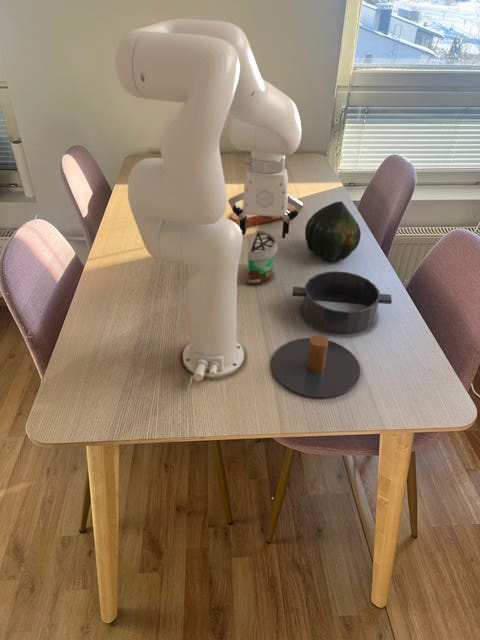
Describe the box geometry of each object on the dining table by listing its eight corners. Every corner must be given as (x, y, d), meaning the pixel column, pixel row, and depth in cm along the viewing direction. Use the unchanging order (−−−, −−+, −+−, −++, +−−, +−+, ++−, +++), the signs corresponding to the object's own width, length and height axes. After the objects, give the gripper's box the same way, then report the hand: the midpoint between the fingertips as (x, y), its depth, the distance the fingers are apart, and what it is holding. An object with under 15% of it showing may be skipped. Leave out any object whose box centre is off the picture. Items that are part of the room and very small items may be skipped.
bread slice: (225, 227, 154) (225, 215, 152) (239, 202, 168) (239, 191, 166) (284, 234, 151) (285, 222, 148) (294, 208, 165) (295, 197, 162)
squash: (307, 252, 131) (348, 207, 127) (287, 228, 143) (324, 186, 139) (342, 279, 139) (381, 237, 134) (320, 254, 150) (356, 214, 146)
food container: (271, 290, 127) (273, 255, 121) (247, 288, 128) (248, 252, 122) (278, 265, 136) (280, 231, 130) (255, 263, 137) (257, 229, 131)
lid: (361, 405, 96) (368, 375, 92) (267, 395, 98) (269, 366, 93) (357, 345, 110) (362, 317, 105) (275, 338, 112) (277, 310, 107)
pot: (390, 340, 112) (396, 316, 108) (289, 331, 114) (291, 307, 110) (383, 297, 125) (388, 275, 121) (293, 290, 127) (294, 268, 123)
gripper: (226, 167, 112) (226, 238, 122) (306, 172, 110) (299, 244, 120) (231, 156, 118) (230, 225, 128) (307, 161, 116) (300, 230, 126)
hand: (263, 234), depth 124 cm, fingers open, 9 cm apart
